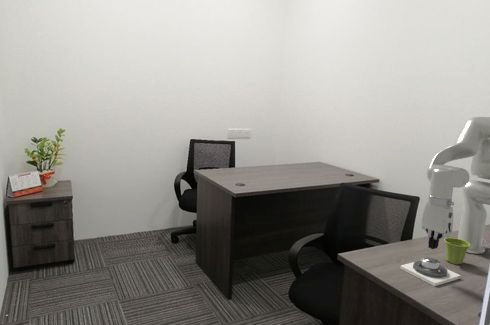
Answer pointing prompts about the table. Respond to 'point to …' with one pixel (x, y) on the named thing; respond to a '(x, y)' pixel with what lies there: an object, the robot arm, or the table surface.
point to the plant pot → (455, 250)
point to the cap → (430, 264)
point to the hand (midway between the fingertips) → (432, 247)
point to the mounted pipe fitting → (430, 273)
